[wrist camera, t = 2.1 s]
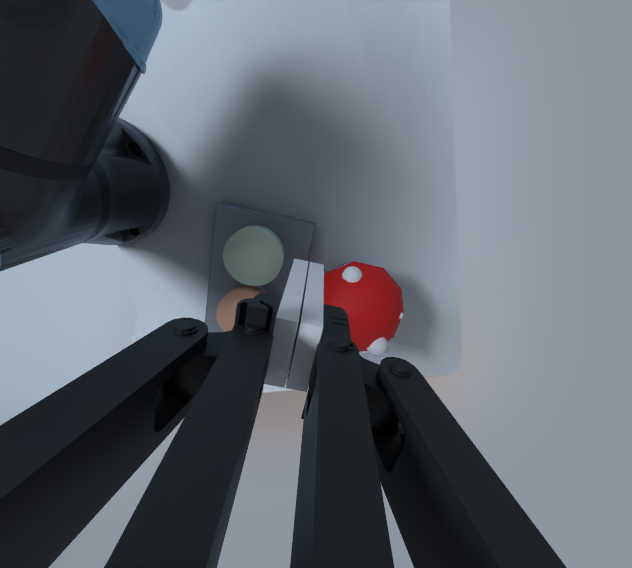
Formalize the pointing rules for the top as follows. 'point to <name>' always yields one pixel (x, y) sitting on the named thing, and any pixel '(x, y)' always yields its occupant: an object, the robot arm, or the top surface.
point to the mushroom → (366, 303)
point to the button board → (229, 222)
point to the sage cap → (253, 255)
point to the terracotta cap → (233, 304)
